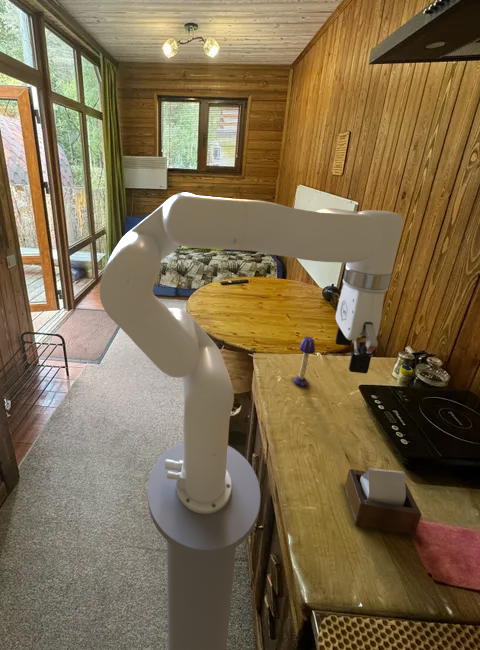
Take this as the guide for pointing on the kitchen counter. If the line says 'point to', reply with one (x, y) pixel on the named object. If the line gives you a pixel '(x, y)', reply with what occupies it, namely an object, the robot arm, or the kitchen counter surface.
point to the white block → (383, 486)
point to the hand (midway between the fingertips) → (349, 357)
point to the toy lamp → (305, 360)
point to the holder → (381, 509)
